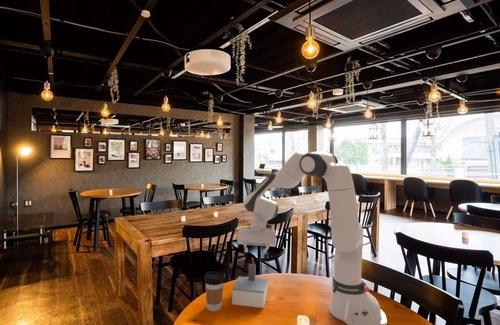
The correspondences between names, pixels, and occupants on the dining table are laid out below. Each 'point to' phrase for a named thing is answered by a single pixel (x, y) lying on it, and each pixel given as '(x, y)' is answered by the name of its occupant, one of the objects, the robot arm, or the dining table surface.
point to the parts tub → (249, 298)
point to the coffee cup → (214, 290)
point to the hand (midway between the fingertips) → (255, 252)
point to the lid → (250, 282)
